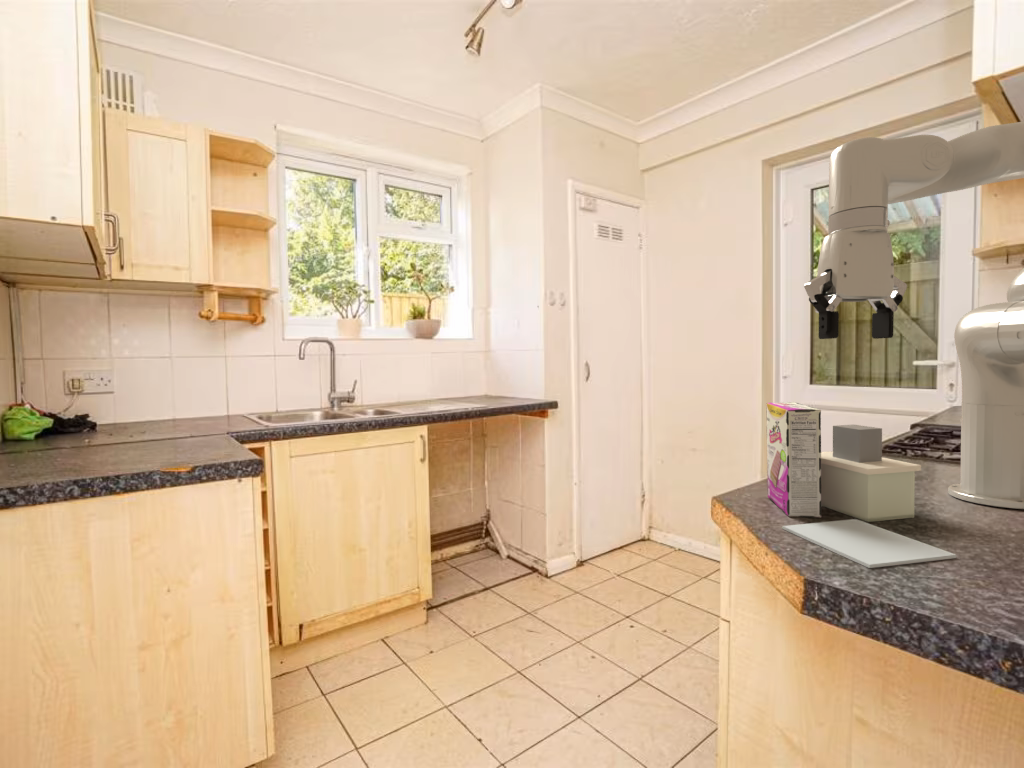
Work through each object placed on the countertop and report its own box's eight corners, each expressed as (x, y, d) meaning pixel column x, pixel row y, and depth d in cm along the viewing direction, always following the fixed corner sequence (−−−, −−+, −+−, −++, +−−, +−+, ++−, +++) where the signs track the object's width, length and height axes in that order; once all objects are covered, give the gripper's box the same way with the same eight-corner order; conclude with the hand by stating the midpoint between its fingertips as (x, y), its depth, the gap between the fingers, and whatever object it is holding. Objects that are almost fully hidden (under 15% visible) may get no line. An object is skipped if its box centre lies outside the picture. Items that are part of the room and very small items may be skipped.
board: (855, 521, 74) (855, 519, 74) (956, 557, 60) (956, 554, 60) (782, 528, 72) (782, 526, 72) (869, 568, 58) (869, 564, 58)
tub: (846, 496, 87) (846, 455, 87) (914, 517, 75) (914, 470, 75) (805, 500, 86) (805, 458, 85) (867, 521, 74) (868, 473, 73)
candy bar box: (765, 497, 88) (764, 402, 87) (797, 498, 87) (797, 401, 86) (786, 517, 77) (786, 408, 76) (823, 518, 76) (823, 408, 75)
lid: (846, 461, 87) (847, 421, 87) (920, 478, 75) (921, 431, 74) (800, 465, 86) (800, 423, 85) (868, 483, 73) (868, 434, 73)
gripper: (883, 234, 84) (881, 339, 84) (789, 230, 81) (788, 339, 81) (928, 221, 76) (925, 336, 77) (827, 217, 73) (826, 337, 74)
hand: (855, 338), depth 79 cm, fingers open, 9 cm apart
